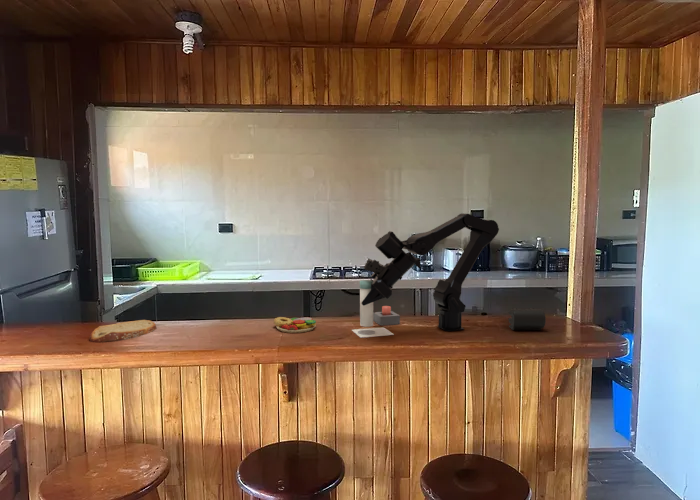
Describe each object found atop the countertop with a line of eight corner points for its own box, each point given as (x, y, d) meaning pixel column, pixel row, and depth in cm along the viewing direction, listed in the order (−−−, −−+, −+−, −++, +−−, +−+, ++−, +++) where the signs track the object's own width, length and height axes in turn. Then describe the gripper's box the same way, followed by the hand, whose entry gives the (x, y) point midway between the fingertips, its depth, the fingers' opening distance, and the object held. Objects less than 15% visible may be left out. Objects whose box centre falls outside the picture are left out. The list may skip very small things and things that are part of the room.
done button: (388, 316, 172) (388, 305, 172) (392, 318, 169) (392, 307, 169) (380, 317, 171) (380, 306, 171) (383, 319, 168) (383, 307, 168)
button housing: (392, 319, 175) (392, 311, 175) (399, 324, 168) (399, 315, 168) (373, 320, 173) (373, 312, 173) (380, 325, 166) (380, 316, 166)
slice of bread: (158, 325, 168) (157, 315, 168) (151, 340, 151) (150, 328, 150) (100, 329, 163) (99, 318, 163) (86, 344, 146) (85, 332, 146)
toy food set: (270, 326, 166) (270, 317, 166) (307, 322, 172) (307, 313, 172) (284, 336, 155) (284, 326, 154) (322, 331, 161) (322, 321, 160)
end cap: (514, 332, 158) (514, 311, 157) (507, 326, 165) (507, 306, 164) (545, 332, 158) (546, 311, 157) (537, 326, 165) (537, 306, 164)
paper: (383, 327, 163) (383, 326, 163) (393, 334, 155) (393, 333, 155) (351, 330, 160) (351, 329, 160) (360, 337, 152) (360, 336, 152)
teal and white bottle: (370, 322, 159) (370, 279, 158) (375, 326, 155) (375, 281, 154) (357, 323, 158) (357, 280, 157) (362, 327, 154) (362, 282, 152)
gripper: (378, 247, 163) (344, 280, 165) (380, 253, 145) (343, 290, 146) (401, 270, 164) (368, 303, 165) (407, 279, 146) (369, 316, 147)
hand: (362, 302), depth 156 cm, fingers closed on teal and white bottle, 4 cm apart
